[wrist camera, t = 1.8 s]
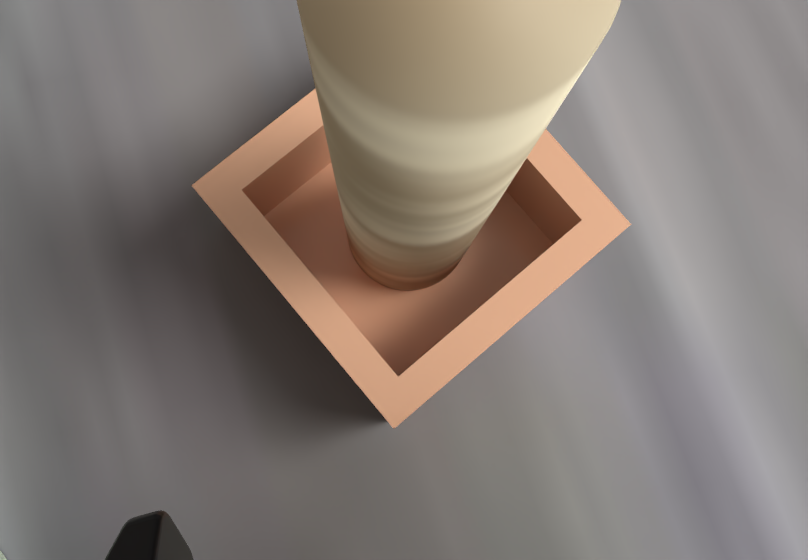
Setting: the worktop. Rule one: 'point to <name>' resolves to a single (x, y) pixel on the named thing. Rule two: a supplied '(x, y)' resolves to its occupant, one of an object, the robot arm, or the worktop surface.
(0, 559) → the sage tray
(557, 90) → the dowel
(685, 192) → the worktop surface
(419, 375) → the peach square box
